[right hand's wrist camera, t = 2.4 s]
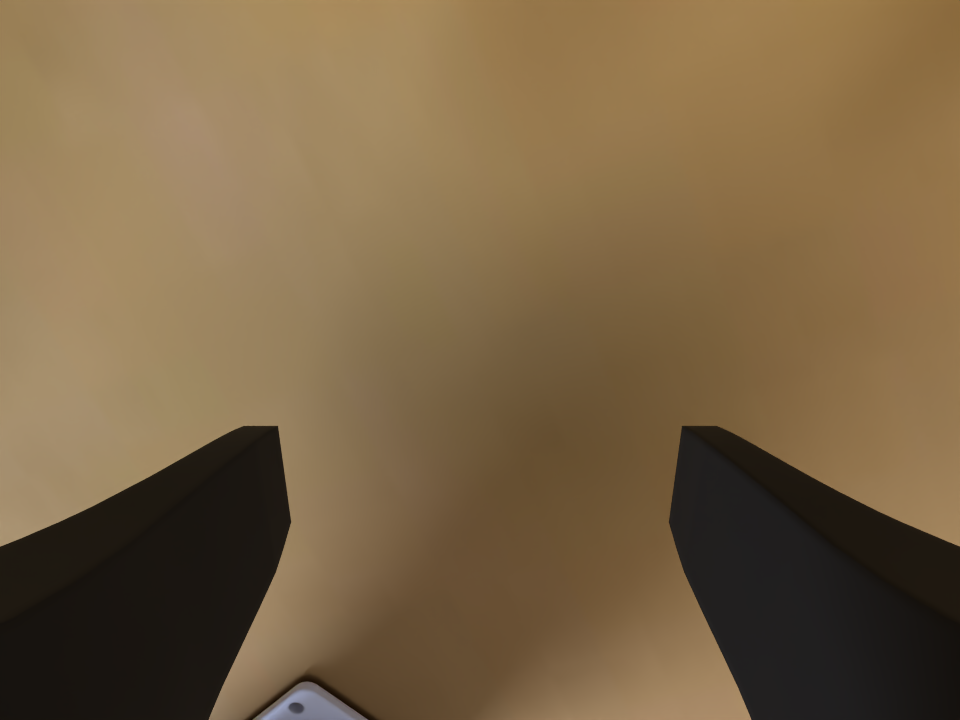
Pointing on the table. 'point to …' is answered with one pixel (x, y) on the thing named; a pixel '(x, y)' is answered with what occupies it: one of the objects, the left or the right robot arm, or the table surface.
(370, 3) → the table surface
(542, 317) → the table surface
